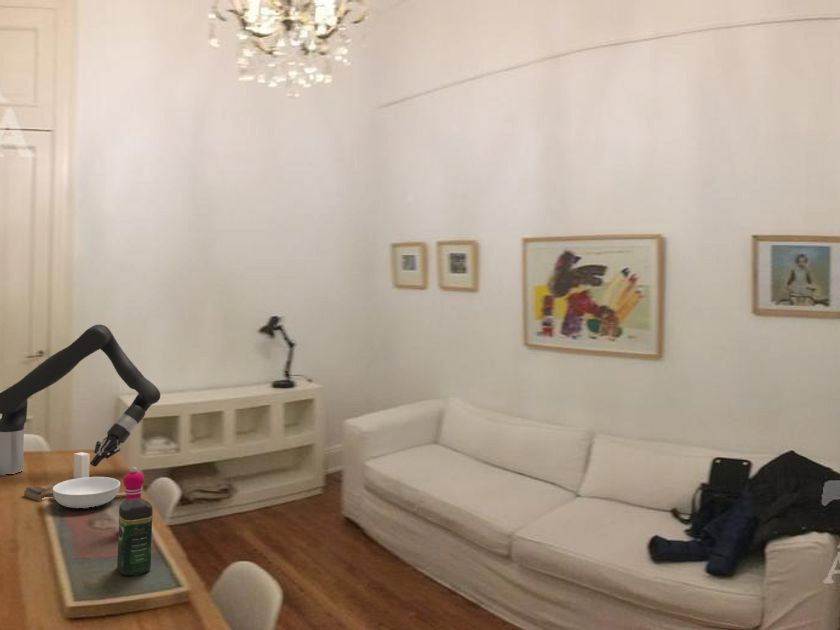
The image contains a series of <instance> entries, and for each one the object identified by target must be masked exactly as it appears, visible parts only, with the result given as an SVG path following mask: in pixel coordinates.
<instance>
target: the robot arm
mask: <svg viewBox="0 0 840 630" xmlns="http://www.w3.org/2000/svg"><path fill="white" fill-rule="evenodd" d="M99 350H101V351H102V352H103V353H104V354H105V355H106V356H107V358H108V360H110V362H111V364H112V367H114V369H115V371H116V373H117V375H118V376H119V377H120V379H121V380H122V381H123V382H124V384H126V385H127V387H129V389H131V390H135V392H137V393H138V394H137V395H136V397H135V398H134V400H133V401H132V403H131V405H130V406H129V407H128V408H127V409H126V410H125V411H124V412H123V414H122V415H121V416H120V417H119V418H118V419H117V420H116V421H115V422H114V423H113V425H112V426H111V427H110V428H109V429H108V431H106V434H107V436H106V437H105V438H103V440H101V441H99V440H97V441H96V444H95V447H94V451H93V453H94V454H95V455H94V457H93V459H92V460H90V465H91V466H92V467H94V468H95V467H97V466H98V465H99V464H100V463H101V461H102V460H105V459H109V458H111V457H112V456H114V455H115V454H117V453H119V452H120V451H121V448H120V447H119V446H120V444H124V443H125V442H126V440H128V438H129V437H130V436H131V435H132V433H133V432H134V431H135V429H136V428H137V426H138V424H139V423H140V422H141V421H142V419H144V417H145V416H146V412H147V411H148V410H149V408H150V407H151V406H152V405H154V404H156V403H158V402H159V400H160V399H161V393H160V390H159V388H158V387H157V386H156V385H155V384H154V383H152V382H151V381H150V380H149V379H148V378H146V377H145V376H144V375H143V373H142V372H141V371H140V370H139V369H138V368H137V367H136V366H135V364H134V363H133V361H132V360H131V359H130V358H129V357H128V356H127V354H126V353H125V352H124V350H123V349H122V347H121V345H120V344H119V343H118V342H117V339H116V338H115V336H114V334H113V333H112V331H111V330H110V329H109V327H108V326H106V325H105V324H95V325H93V326H91V327H88V328H87V329H86V330H84V332H83V333H82V334H81V335H80V336H79V337H78V338H77V339H75V340H74V341H73V342H72V343H71V344H70V345H68V346H67V347H65V348H63V349H61V350H58V351H57V352H56V353H54V354H53V355H50V356H49V357H48V358H46V359H45V360H44V361H43V362H41V363H40V364H39V365H37V366H36V367H35V368H34V369H32V370H31V371H30V372H29V373H27V374H26V375H25V376H24V377H23V378H21V379H20V380H19V381H17V382H16V383H14V384H13V385H11V386H9V387H8V388H5V389H4V390H2V391H1V392H0V414H1V418H0V476H6V475H5V474H12V473H18V472H21V471H23V472H24V443H25V442H24V440H25V436H24V435H25V424H26V421H27V417H28V416H27V414H28V399H29V398H30V397H32V396H33V395H35V394H37V393H39V392H40V391H43V390H44V389H46V388H49V387H50V386H52V385H54V384H55V383H57V382H59V381H60V380H61V379H63V378H64V377H65V376H66V375H68V374H69V373H70V372H71V371H73V370H74V369H75V367H76V366H78V364H79V363H80V362H82V361H83V360H84V359H85V358H87V357H88V356H91V355H92V354H93V353H95V352H97V351H99ZM21 473H22V472H21ZM18 474H19V473H18Z"/></svg>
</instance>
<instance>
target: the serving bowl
mask: <svg viewBox="0 0 840 630" xmlns="http://www.w3.org/2000/svg"><path fill="white" fill-rule="evenodd" d="M60 482H61V483H59V482H57V483H58V484H56V485H55V486H54V487H53V495H54V498H53V499H54V500H55V501H56V502H57V503H58V504H59V505H62V506H64V507H67V508H72V509H79V508H83V509H90V508H89V507H92V508H95V506H96V507H100V506H102V505H106V504H107V503H110V501H112V500H113V499H115V498H116V496H117V495H118V493H119V491H120V488H121V482H120V480H118V479H116V478H113V477H106V476H92V477H85V478H77V479H71V478H70V479H67V480H64V481H60Z"/></svg>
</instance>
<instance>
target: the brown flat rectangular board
mask: <svg viewBox="0 0 840 630" xmlns="http://www.w3.org/2000/svg"><path fill="white" fill-rule="evenodd" d="M89 477H93V476H92V475H89ZM61 482H62V481H60V482H56V483H51V484H47V485H42V486H38V487H30V486H26V488H25V490H24V493H23V496H24V497H25V498H29V499H30V500H35V501H37V502H43V501H42V498H44V497H54V495H53V487H54V486H55V485H56V484H58V483H61Z"/></svg>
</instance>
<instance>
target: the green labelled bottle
mask: <svg viewBox="0 0 840 630" xmlns="http://www.w3.org/2000/svg"><path fill="white" fill-rule="evenodd" d="M153 513H154V512H153V505H152V504H151V502H149V501H147V500H145V499H143V498H134V499H127V500H126V499H125V500H124V501H123V502H121V503H120V505H119V508H118V537H117V539H118V540H117V541H118V543H117V558H116V559H117V561H116V563H117V564H116V566H117V570H118V571H119V573H121V574H122V575H123V576H139V575H142V574H143V573H146V572H148V571H150V569H151V566H152V540H153V539H152V538H153V537H152V535H153V534H152V533H153V515H154V514H153Z"/></svg>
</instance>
